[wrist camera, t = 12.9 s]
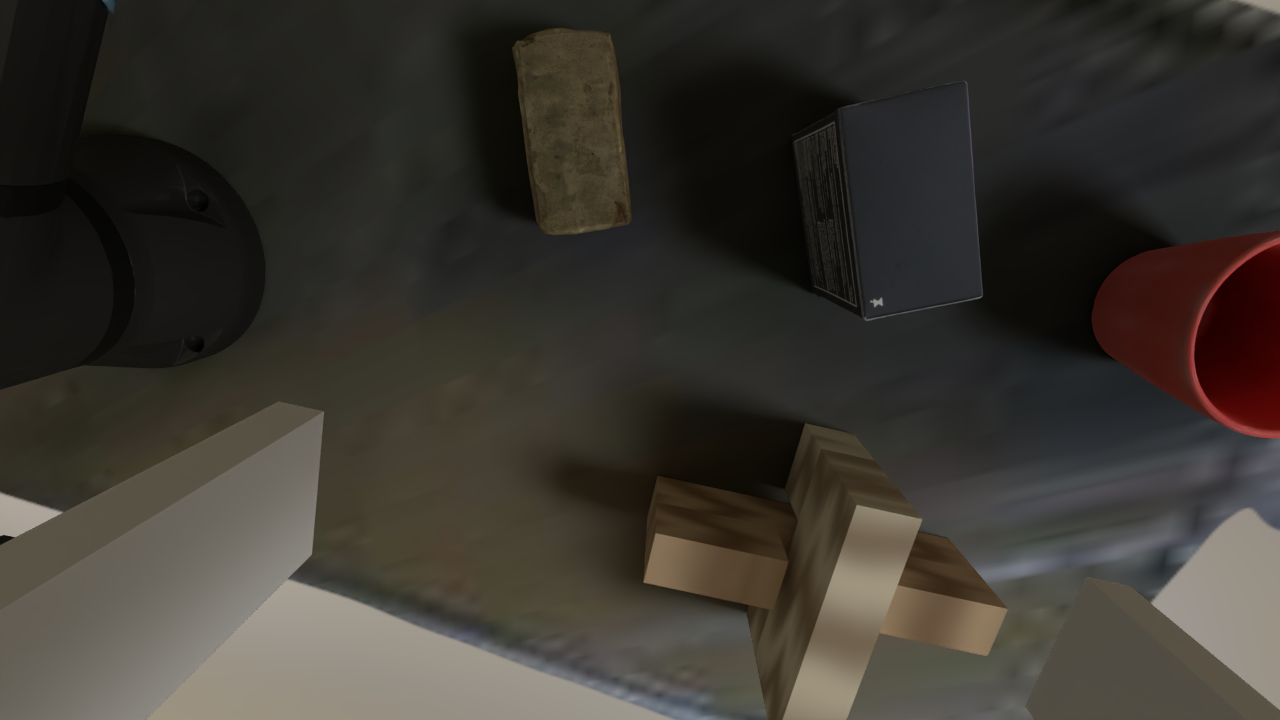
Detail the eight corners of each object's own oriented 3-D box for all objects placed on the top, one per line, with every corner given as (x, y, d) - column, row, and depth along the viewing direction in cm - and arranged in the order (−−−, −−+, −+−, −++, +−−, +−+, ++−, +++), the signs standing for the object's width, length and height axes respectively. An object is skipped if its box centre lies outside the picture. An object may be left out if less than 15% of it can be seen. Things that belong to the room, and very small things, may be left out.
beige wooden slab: (790, 622, 47) (831, 759, 35) (746, 612, 47) (773, 746, 35) (853, 433, 43) (922, 519, 31) (805, 423, 43) (856, 504, 31)
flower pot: (1233, 201, 38) (1418, 201, 29) (1239, 364, 41) (1412, 413, 31) (1058, 246, 39) (1182, 260, 30) (1075, 402, 42) (1194, 460, 32)
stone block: (551, 236, 41) (535, 240, 36) (523, 49, 38) (502, 26, 33) (637, 225, 40) (633, 228, 35) (615, 36, 37) (607, 10, 33)
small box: (909, 276, 40) (992, 302, 30) (810, 296, 41) (858, 327, 31) (892, 109, 38) (976, 75, 28) (787, 132, 38) (831, 107, 28)
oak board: (647, 517, 45) (643, 582, 38) (657, 475, 44) (655, 533, 37) (932, 579, 46) (987, 656, 38) (948, 538, 45) (1007, 609, 37)
